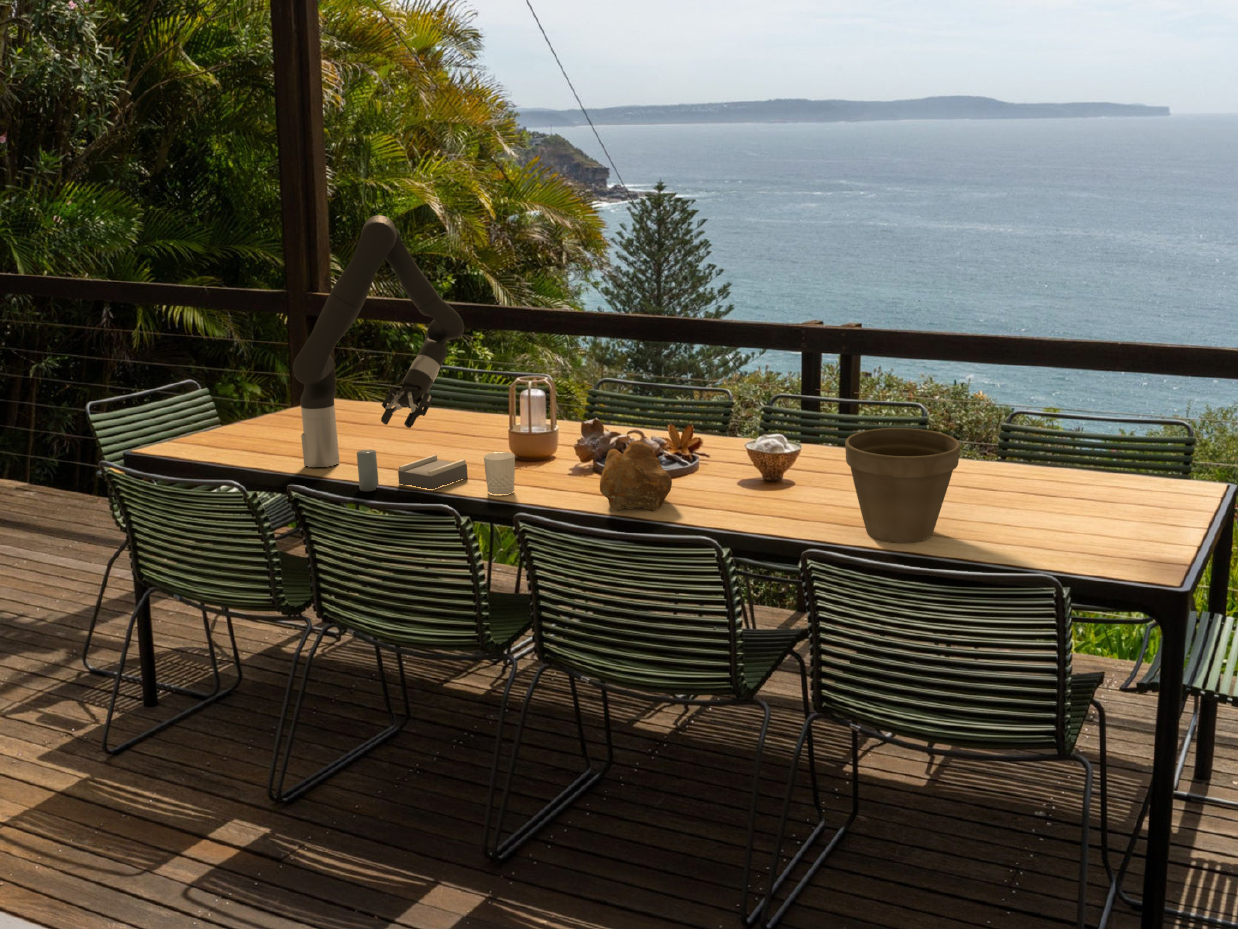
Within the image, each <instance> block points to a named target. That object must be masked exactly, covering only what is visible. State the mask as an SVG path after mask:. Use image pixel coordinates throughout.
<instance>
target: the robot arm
mask: <svg viewBox="0 0 1238 929" xmlns="http://www.w3.org/2000/svg"><path fill="white" fill-rule="evenodd" d="M360 233H361V234H360V236H359V239H358V243H357V245H356V248H355V251H354V253H353V256H352V258H351V260H350V262H349V264H348V265H347V266H346V268H345V269H344V270H343V272H342V273H341V274H340V275H339V277H338V279H337V280H336V282H335V284H334V285H333V287H332V289H331V291H330V293H329V294H328V297H327V299H326V301H325V304H324V306H323V307H322V309H321V312H320V314H319V316H318V318H317V320H316V323H315V324H314V326H313V329H312V332H311V333H310V335H309V336H308V338H307V340H306V342H305V343H304V345H303V346H302V348H301V349H300V350H299V352H298V354H297V355H296V357H295V358H294V359H293V360H294V361H293V364H292V370H293V375H294V377H295V379H296V380H297V381H298V382H299V383H301V384H303V385H304V387H303V391H302V394H301V396H300V411H301V420H302V421H301V422H302V431H303V432H302V434H301V436H300V437H301V444H302V446H301V447H302V456H303V467H304V466H308V467H307V468H310V467H327V468H329V467H328V466H332V467H334V466H333V465H336V464H338V463H339V464H340V453H339V443H338V442H339V441H338V429H337V417H336V408H335V406H336V405H335V396H336V393H337V392H336V390H337V389H336V387H337V386H336V369H335V362H334V359H333V357H332V355H331V354H332V353H333V350H334V349H335V347H336V345H337V344H338V342H339V341H340V340H341V339H342V338H343V336H344V335H345V334H346V333H347V332H348V331H349V329H351V326H352V325H353V324H354V323H355V321H356V319H357V317H358V316H359V314H360V312H361V310H362V308H363V306H364V304H365V301H367V300H366V299H367V297H368V295H369V292H370V290H371V287H372V284H373V282H374V281H373V280H374V279H375V276H376V274H377V272H378V271H379V269H380V267H381V266H382V265H383V262H384V261H385V260H386V262H387V263H388V265H389V266H390V267H391V268H392V270H393V272H394V274H395V275H396V277H397V278H398V280H399V282H400V284H401V286H402V288H403V290H404V292H405V293H406V295H407V296H408V298H409V299H410V300H411V302H412V303H413V304H414V306H415V307H416V309H417V310H418V311H419V312H420V314H421V315H423V316H426V317H427V316H428V317H430V318H431V319H433V320H431V322H430V323H429V325H428V328H427V329H426V330H427V331H426V334H425V338H424V341H423V345H422V347H421V348H420V350H419V352H418V354H417V355H416V358H414V360H413V361H412V363H411V365H410V367H409V369H408V370H407V373H406V374H405V376H404V377H403V380H402V382H401V385H402V386H401V388H400V390H396V389H394V388H391V389H390V390H389V391H388V394H387V395H386V397H385V399H384V400H383V402H382V403H381V406H382V407H383V409H384V412H383V414H382V416H381V418H380V419H381V420H380V421H381V423H382V424H383V425H388V424H389V422H390V420H391V419H392V417H393V415H394V413H396V411H400V410H402V409H403V408H408V409H410V411H411V412H409V414H408V416H407V417H406V418H405V421H404V423H403V424H404V426H405V427H406V428H407V429H411V428H412V427H413V426H414V424H415V422H416V421H417V418H419V417H420V416H422V417H424V416H426V414H427V412H428V411H429V407H430V406H431V404H432V401H433V397H432V396H431V394H430V393H429V392H430V390H431V388H432V386H433V384H434V383H435V380H436V378H437V377H438V374H439V371H440V369H441V368H442V365H443V363H444V361H445V359H446V357H447V355H448V350H447V348H446V344H447V343H448V341H451V340H455V339H458V338H460V337H462V335H463V334H464V331H465V324H464V320H463V319H462V317H461V315H460V314H459V312H457V310H455V309H454V308H453V307H451V306H450V305H449V304H448V303H447V301H445V300H443V299H442V298H441V296H440V295H439V294H438V291H437V290H436V289H435V288H434V286H433V285H432V283H431V282H430V281H429V280H428V278H427V276H426V275H425V274H424V273H423V271H422V270H421V269H420V267H419V266H418V265H417V263H416V261H415V260H414V259H413V257H412V255H411V254H410V252H409V251H408V249H407V247H406V245H405V244H404V242H403V240H402V238H401V236H400V234H399V232H398V230H397V228H396V225H395V223H394V222H393V221H392V220H391V219H390V218H389V217H387V216H384V215H373V216H371V217H370V218H367V220H366V221H365V223H364V224H363V227H362V229H361V232H360ZM339 464H338V465H339ZM336 466H337V465H336Z"/></svg>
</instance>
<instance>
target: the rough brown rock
mask: <svg viewBox="0 0 1238 929" xmlns="http://www.w3.org/2000/svg"><path fill="white" fill-rule="evenodd" d="M672 485H673V481H672V477H671V475H670V474H669V472H668V471H667V470H665V469H664V468H663V466H662V464H661V462H660V459H659V458H658V457H657V455H656V452H655V451H654V449H653V447H651V446H650V445H649V444H648V443H645V442H643V441H639V440H632V441H630V442H629V443H628V445H627V446H626V448H625V449H624V452H623V453H622V452H620V451H619V450H618V449H616V448H611V449H610V450H608V451H607V454H606V458H605V461H604V466H603V469H602V471H601V475H600V479H599V492H600V493H601V495H602V496H604V497H605V498H606V499H607V500H608V504H609V507H610V508H611V509H612V510H613V511H615V512H616V511H621V510H622V509H624V508H626V509H628V510H631V509H637V508H643V509H646V510H650V511H656V510H658V509H659V508H660V507H662V505H663V503H664V501H665V500H666V498H667V496H668V495H669V493H670V492H671V489H672Z"/></svg>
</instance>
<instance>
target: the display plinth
mask: <svg viewBox="0 0 1238 929" xmlns="http://www.w3.org/2000/svg"><path fill="white" fill-rule="evenodd" d="M466 462H467V461H466V459H459V460H457V461H449V460H444V459H443V460H442V459H438V455H437V454H433V455H430V456H427V457H423V458H421V459H418V460H414V461H412V462H408V463H406V464H403V465H399V466H398V470H397V475H398V476H397V477H398V485H399V484H403V485H412V486H416V487H421V488H427V489H435V488H438V487H440V486H442V485H447V484H450V483H452V482H456V481H458V480H461V479H465V480H467V479H466V478H468V464H467V463H466Z"/></svg>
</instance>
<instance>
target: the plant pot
mask: <svg viewBox="0 0 1238 929" xmlns="http://www.w3.org/2000/svg"><path fill="white" fill-rule="evenodd" d="M960 452H961V442H960V441H959V440H958V439H956V438H955V437H953V436H951V435H949V434H946V433H942V432H938V431H934V430H927V429H921V428H920V429H919V428H905V427H887V428H884V427H883V428H875V429H869V430H868V429H867V430H863V431H858V432H856V433H853V434H851V435H849V436H848V437H847V438H846V439H845V462H846V464H847V465H848V466H849V467H850V471H851V474H852V475H851V476H852V480H853V484H854V488H855V492H856V496H857V501H858V505H859V508H860V512H861V513H860V514H861V516H862V520H863V523H864V527H865V531H866V534H867V535H869V537H871V538H874V539H876V540H879V541H883V542H888V543H896V544H909V543H912V544H913V543H920V542H924V541H926V540H928V539H929V538H931V537H932V535H933V534H934V531H935V528H936V526H937V521H938V519H939V515H940V512H941V510H942V506H943V503H944V500H945V497H946V494H947V491H948V489H949V484H950V481H951V479H952V474H953V471H955V469H957V467H958V466H959V462H960V461H959V460H960Z"/></svg>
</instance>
